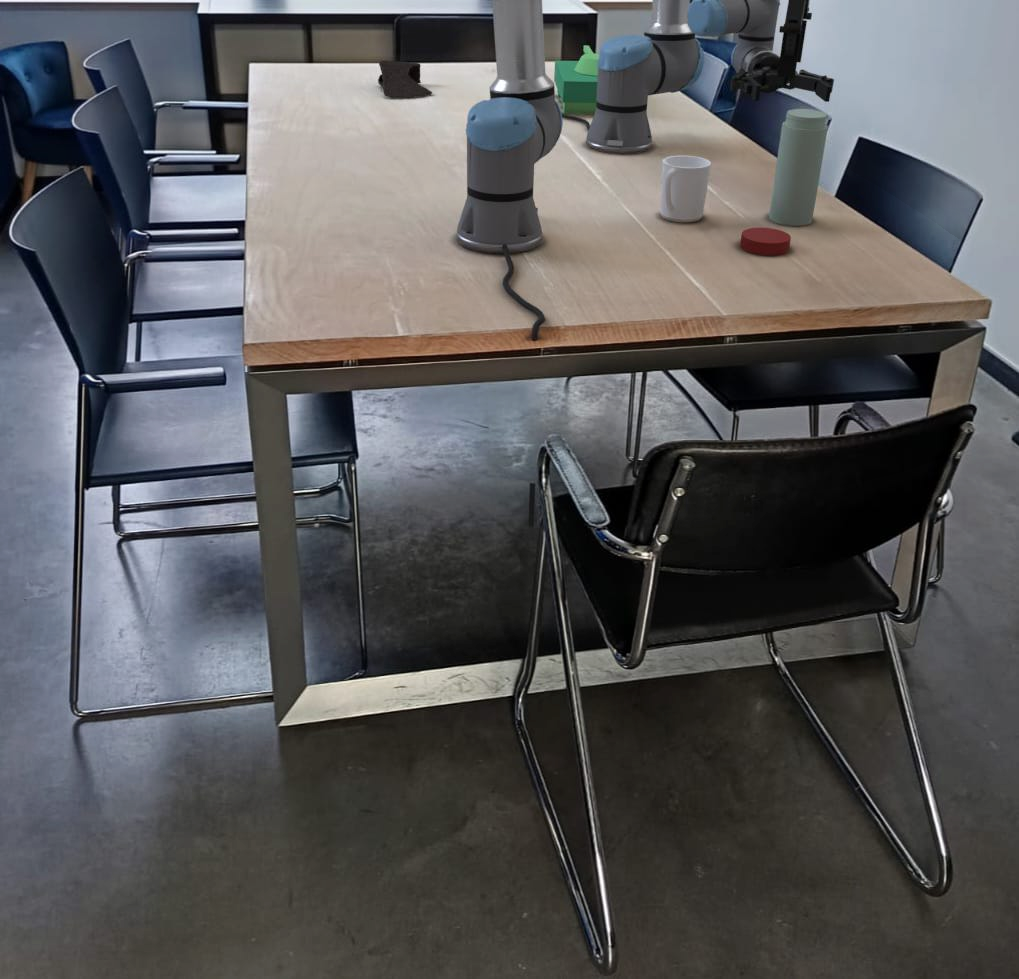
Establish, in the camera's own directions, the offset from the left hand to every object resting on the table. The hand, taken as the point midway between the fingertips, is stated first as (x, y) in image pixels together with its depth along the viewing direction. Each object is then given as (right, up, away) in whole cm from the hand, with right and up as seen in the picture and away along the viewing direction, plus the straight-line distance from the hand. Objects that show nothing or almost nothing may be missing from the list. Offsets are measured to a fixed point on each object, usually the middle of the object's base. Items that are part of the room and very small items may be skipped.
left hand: (789, 69), depth 180 cm
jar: (+8, -17, +30) cm, 36 cm away
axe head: (-75, +40, +121) cm, 148 cm away
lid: (0, -24, +15) cm, 28 cm away
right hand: (+8, +6, +27) cm, 29 cm away
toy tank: (-25, +35, +114) cm, 121 cm away
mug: (-14, -17, +29) cm, 37 cm away
